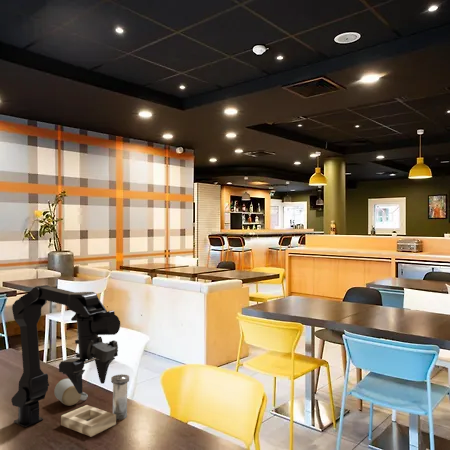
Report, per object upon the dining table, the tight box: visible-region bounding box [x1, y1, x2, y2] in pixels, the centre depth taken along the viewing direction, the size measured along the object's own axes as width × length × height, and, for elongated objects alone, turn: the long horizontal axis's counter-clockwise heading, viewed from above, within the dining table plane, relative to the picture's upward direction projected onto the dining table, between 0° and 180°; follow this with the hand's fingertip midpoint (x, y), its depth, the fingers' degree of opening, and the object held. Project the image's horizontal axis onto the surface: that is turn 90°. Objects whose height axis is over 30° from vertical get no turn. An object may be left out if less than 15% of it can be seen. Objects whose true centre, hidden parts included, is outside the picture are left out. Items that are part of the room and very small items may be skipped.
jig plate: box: [60, 404, 117, 438], centre depth 134 cm, size 14×10×3 cm
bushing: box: [110, 373, 130, 421], centre depth 140 cm, size 6×6×13 cm
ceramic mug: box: [53, 378, 89, 406], centre depth 152 cm, size 11×8×8 cm
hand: (91, 388), depth 124 cm, fingers open, 9 cm apart
